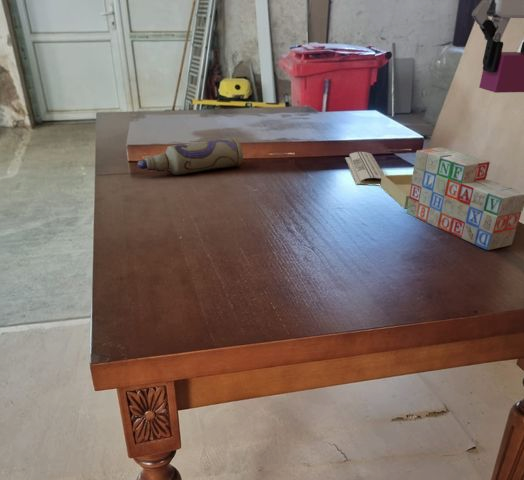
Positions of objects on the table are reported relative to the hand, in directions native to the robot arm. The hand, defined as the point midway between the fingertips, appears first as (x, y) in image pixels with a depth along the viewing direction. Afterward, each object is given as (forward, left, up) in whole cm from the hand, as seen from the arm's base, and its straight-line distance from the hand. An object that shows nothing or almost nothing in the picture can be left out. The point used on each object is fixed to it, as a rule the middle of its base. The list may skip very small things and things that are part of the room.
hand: (506, 69), depth 81 cm
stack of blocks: (0, -4, -27) cm, 27 cm away
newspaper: (+5, -43, -27) cm, 51 cm away
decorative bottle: (+48, -47, -27) cm, 72 cm away
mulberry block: (0, 0, -3) cm, 3 cm away
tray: (0, -23, -27) cm, 35 cm away
